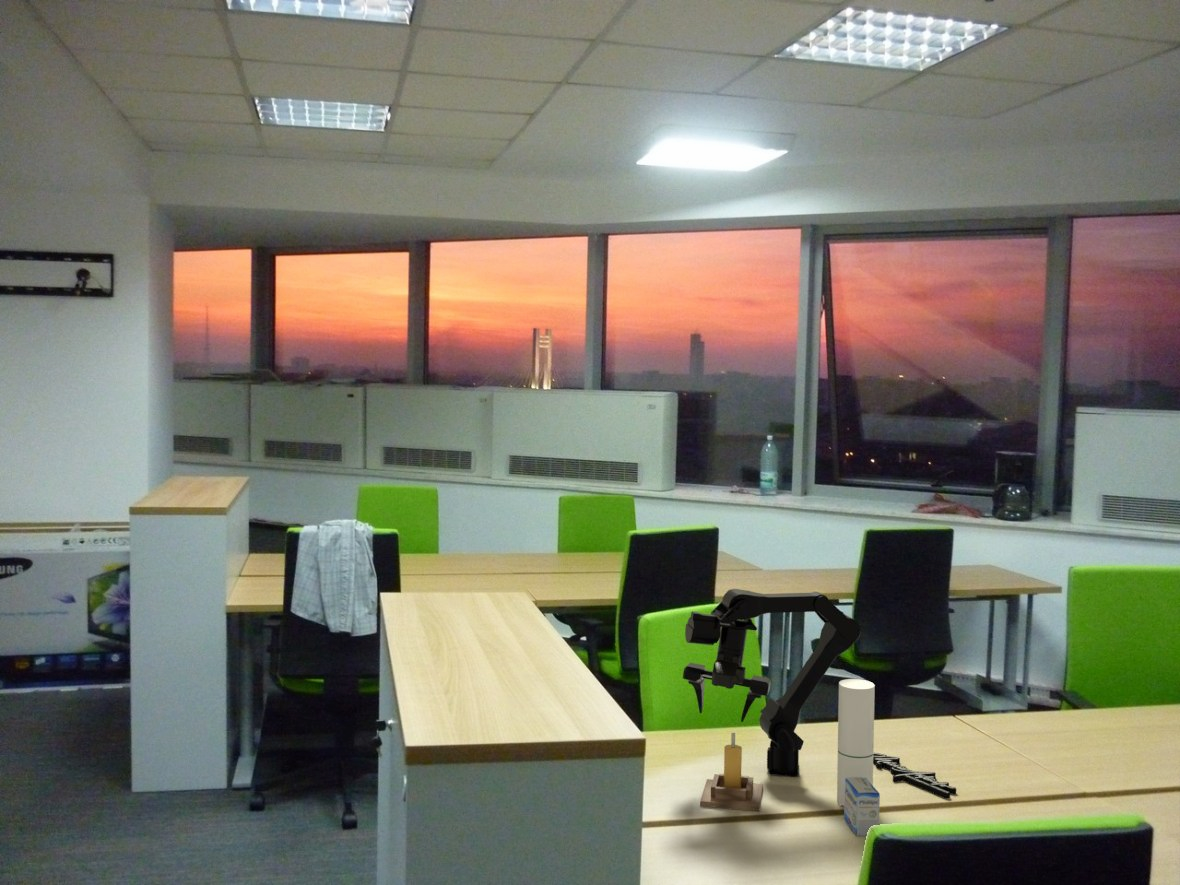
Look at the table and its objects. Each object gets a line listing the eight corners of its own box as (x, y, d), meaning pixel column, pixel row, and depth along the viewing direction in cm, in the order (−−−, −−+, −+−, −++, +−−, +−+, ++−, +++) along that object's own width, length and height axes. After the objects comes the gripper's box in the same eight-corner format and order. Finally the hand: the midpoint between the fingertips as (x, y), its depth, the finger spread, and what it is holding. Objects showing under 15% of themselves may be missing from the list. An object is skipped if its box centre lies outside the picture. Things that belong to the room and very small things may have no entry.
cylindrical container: (873, 798, 217) (875, 680, 216) (871, 811, 211) (873, 690, 209) (838, 793, 220) (840, 677, 218) (835, 806, 213) (837, 687, 211)
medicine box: (843, 819, 207) (844, 777, 206) (865, 818, 207) (866, 776, 207) (856, 837, 199) (857, 792, 199) (879, 836, 200) (880, 792, 199)
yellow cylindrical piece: (741, 789, 219) (742, 731, 219) (740, 796, 216) (741, 736, 215) (724, 788, 220) (725, 730, 219) (722, 794, 217) (723, 735, 216)
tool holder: (762, 788, 222) (763, 773, 222) (759, 811, 211) (759, 795, 210) (706, 783, 225) (707, 769, 225) (700, 805, 213) (700, 790, 213)
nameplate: (842, 755, 239) (872, 747, 244) (842, 762, 239) (872, 753, 244) (940, 796, 216) (971, 786, 221) (940, 803, 216) (971, 793, 221)
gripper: (683, 645, 223) (673, 717, 223) (770, 662, 218) (759, 735, 218) (692, 637, 234) (682, 705, 234) (775, 653, 229) (765, 722, 229)
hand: (721, 717), depth 229 cm, fingers open, 9 cm apart
